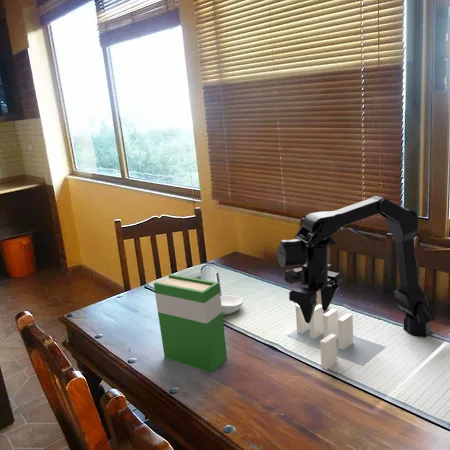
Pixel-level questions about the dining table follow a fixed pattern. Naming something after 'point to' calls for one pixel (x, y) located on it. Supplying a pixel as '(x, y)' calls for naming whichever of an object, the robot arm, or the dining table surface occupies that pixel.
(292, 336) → the domino board
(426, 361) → the dining table surface
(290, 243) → the robot arm
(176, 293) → the hardback book
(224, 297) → the spoon rest
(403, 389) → the dining table surface
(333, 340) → the domino
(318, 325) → the domino
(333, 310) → the domino
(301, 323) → the domino
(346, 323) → the domino
